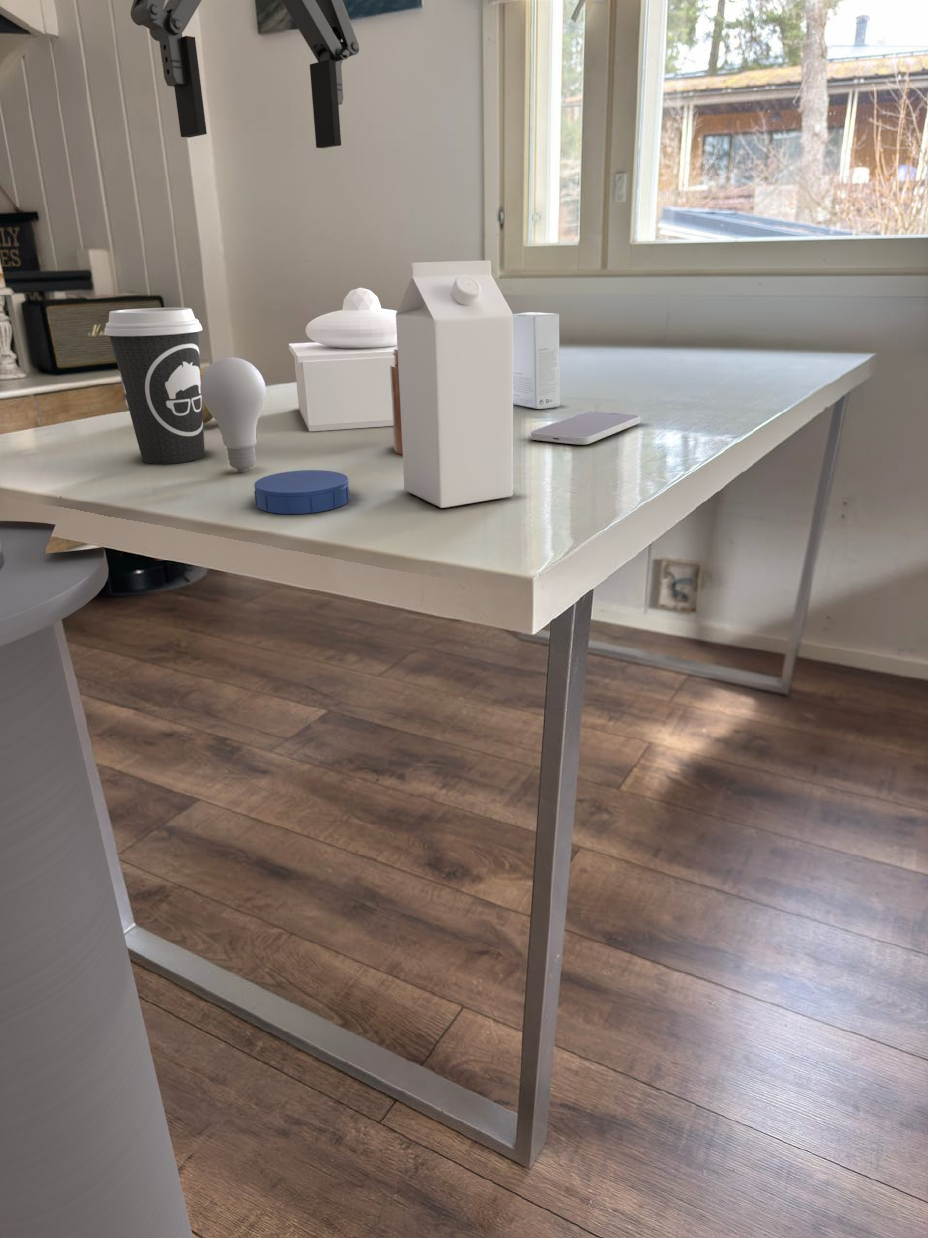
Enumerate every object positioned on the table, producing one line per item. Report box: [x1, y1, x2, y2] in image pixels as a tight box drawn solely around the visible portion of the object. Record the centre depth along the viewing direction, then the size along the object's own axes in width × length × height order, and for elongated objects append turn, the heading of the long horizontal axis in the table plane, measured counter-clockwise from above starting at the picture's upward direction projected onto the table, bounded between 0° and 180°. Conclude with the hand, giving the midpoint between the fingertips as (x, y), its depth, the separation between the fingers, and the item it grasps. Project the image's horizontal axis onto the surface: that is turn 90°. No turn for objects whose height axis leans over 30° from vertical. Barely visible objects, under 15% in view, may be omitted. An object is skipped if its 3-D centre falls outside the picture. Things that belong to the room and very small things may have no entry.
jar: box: [390, 348, 403, 456], centre depth 92 cm, size 8×8×11 cm
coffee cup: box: [103, 307, 206, 465], centre depth 90 cm, size 10×10×15 cm
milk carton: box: [396, 259, 514, 509], centre depth 72 cm, size 7×7×19 cm
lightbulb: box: [200, 356, 267, 473], centre depth 84 cm, size 6×6×11 cm
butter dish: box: [288, 287, 397, 433], centre depth 112 cm, size 18×18×16 cm
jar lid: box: [253, 469, 350, 515], centre depth 75 cm, size 8×8×2 cm
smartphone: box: [530, 410, 641, 446], centre depth 100 cm, size 7×1×15 cm
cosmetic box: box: [513, 311, 561, 410], centre depth 116 cm, size 6×4×12 cm
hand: (265, 141), depth 73 cm, fingers open, 13 cm apart
